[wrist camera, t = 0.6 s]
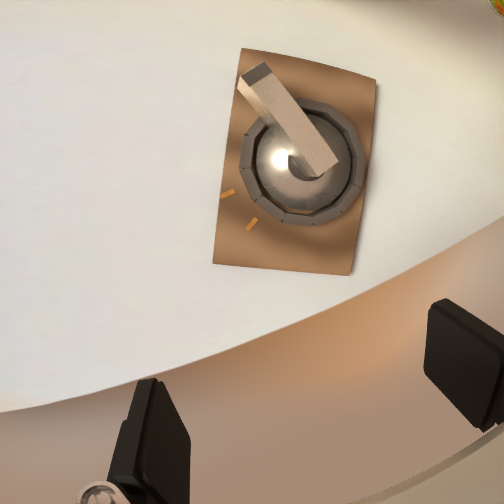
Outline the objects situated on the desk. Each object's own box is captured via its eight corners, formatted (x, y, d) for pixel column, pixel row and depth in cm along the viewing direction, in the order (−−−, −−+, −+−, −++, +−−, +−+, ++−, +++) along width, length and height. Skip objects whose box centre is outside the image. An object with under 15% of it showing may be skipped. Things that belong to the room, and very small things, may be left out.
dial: (360, 173, 33) (391, 174, 27) (292, 227, 34) (310, 239, 27) (281, 64, 29) (296, 41, 23) (205, 115, 30) (203, 100, 23)
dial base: (239, 52, 30) (242, 40, 26) (370, 82, 32) (384, 75, 29) (211, 260, 35) (211, 269, 32) (344, 272, 38) (356, 281, 34)
